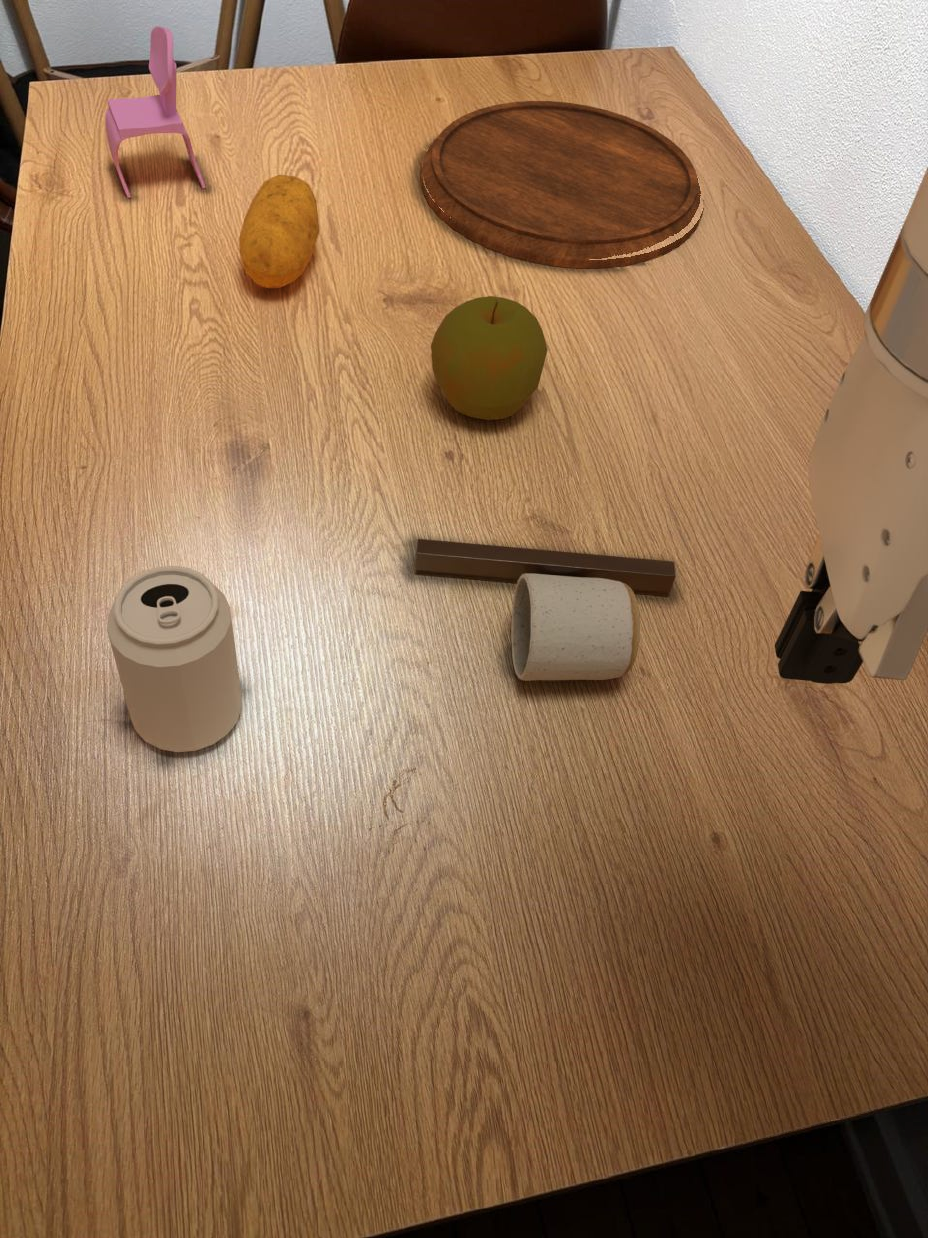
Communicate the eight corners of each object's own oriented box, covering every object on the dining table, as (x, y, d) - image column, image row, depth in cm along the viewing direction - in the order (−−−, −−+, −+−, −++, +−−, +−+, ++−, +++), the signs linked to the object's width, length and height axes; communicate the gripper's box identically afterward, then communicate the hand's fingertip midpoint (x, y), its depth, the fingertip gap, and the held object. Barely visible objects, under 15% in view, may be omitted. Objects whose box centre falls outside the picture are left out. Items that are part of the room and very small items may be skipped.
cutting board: (624, 305, 111) (629, 283, 109) (363, 196, 120) (363, 174, 118) (746, 177, 130) (752, 156, 128) (511, 91, 139) (514, 70, 137)
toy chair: (110, 163, 120) (84, 18, 109) (191, 154, 123) (174, 11, 111) (124, 203, 116) (99, 56, 104) (208, 193, 118) (193, 48, 107)
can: (232, 660, 80) (217, 546, 70) (252, 745, 75) (239, 635, 66) (125, 681, 78) (95, 567, 68) (139, 770, 73) (109, 660, 64)
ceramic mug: (629, 699, 80) (652, 631, 74) (518, 702, 79) (531, 633, 73) (604, 590, 87) (623, 519, 81) (501, 591, 86) (512, 520, 80)
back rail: (669, 596, 87) (676, 576, 85) (414, 574, 86) (416, 553, 84) (666, 566, 89) (673, 546, 87) (417, 544, 88) (419, 523, 86)
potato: (330, 230, 116) (329, 166, 110) (304, 311, 106) (301, 245, 101) (261, 221, 116) (257, 157, 110) (229, 302, 106) (223, 235, 101)
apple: (521, 364, 104) (537, 261, 96) (551, 433, 98) (570, 329, 90) (417, 374, 102) (423, 269, 93) (441, 444, 96) (450, 339, 88)
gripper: (1210, 490, 30) (933, 825, 44) (1048, 196, 39) (863, 549, 53) (935, 465, 30) (745, 810, 44) (840, 175, 39) (709, 536, 53)
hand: (811, 666), depth 48 cm, fingers closed
